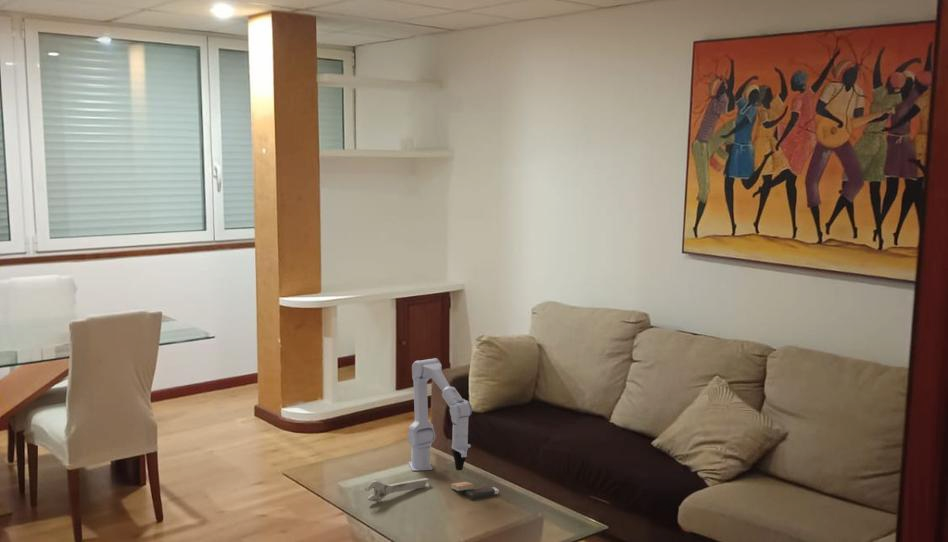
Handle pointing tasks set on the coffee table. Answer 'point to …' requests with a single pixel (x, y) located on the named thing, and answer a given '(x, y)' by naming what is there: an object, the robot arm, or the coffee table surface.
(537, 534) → the coffee table surface
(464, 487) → the tile
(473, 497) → the usb drive
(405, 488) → the wrench
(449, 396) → the robot arm
